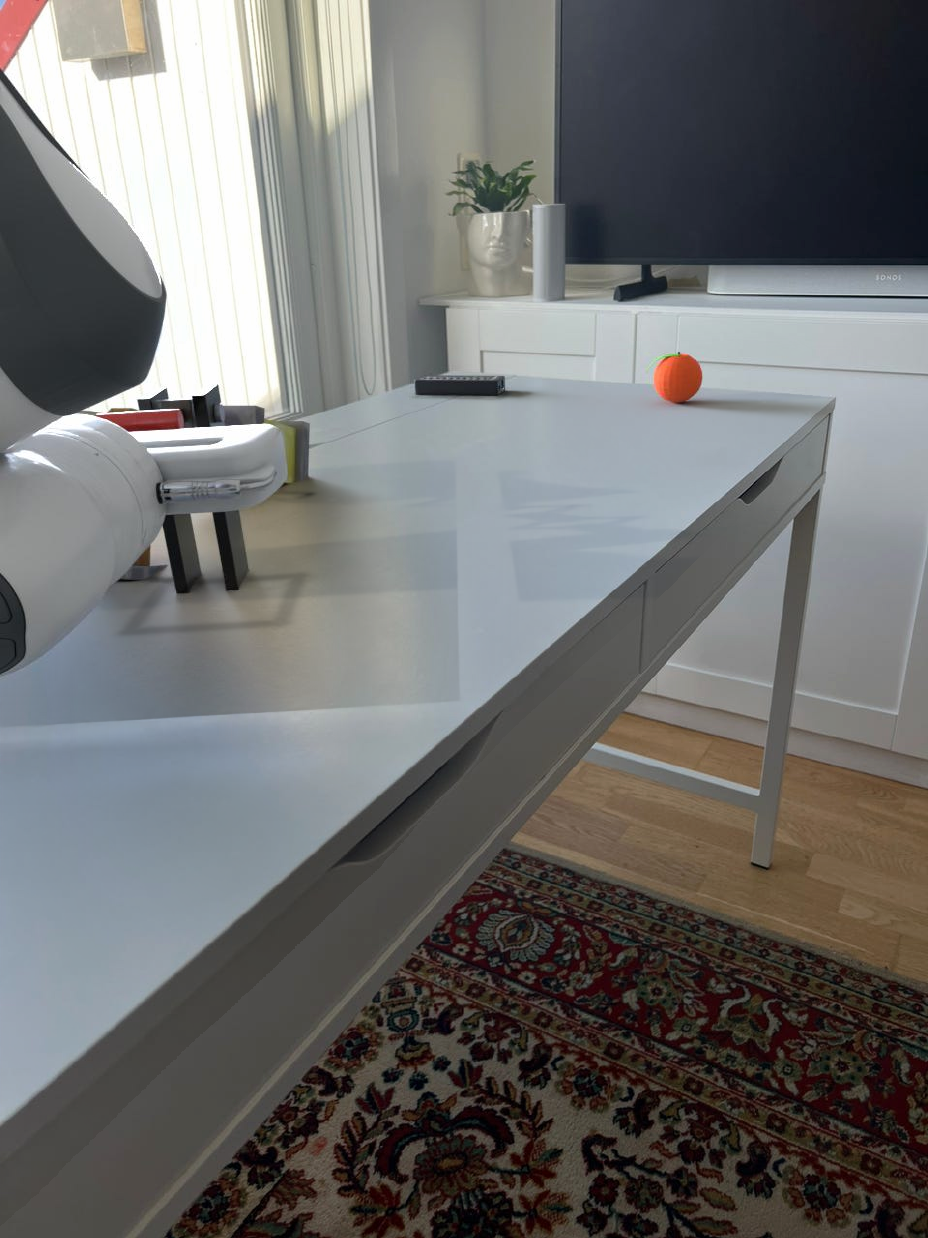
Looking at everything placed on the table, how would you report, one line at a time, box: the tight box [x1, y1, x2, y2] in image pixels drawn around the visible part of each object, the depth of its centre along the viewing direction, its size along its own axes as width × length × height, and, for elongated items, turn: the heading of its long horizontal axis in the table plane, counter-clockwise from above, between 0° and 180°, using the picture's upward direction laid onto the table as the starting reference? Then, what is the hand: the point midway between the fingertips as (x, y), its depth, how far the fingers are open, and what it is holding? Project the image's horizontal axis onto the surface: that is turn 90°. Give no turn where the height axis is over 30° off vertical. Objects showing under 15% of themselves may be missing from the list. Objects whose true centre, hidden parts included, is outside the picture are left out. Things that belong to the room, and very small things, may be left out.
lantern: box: [106, 405, 311, 581], centre depth 91 cm, size 8×17×30 cm
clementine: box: [646, 351, 703, 404], centre depth 134 cm, size 8×7×7 cm
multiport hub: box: [413, 374, 506, 396], centre depth 151 cm, size 4×14×2 cm, turn 69°
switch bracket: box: [136, 383, 250, 595], centre depth 73 cm, size 10×12×17 cm
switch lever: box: [94, 397, 197, 432], centre depth 66 cm, size 12×6×2 cm, turn 1°
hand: (152, 441), depth 63 cm, fingers closed, pressing on switch lever
